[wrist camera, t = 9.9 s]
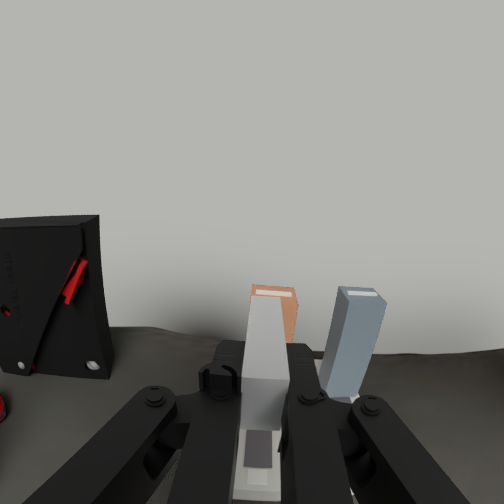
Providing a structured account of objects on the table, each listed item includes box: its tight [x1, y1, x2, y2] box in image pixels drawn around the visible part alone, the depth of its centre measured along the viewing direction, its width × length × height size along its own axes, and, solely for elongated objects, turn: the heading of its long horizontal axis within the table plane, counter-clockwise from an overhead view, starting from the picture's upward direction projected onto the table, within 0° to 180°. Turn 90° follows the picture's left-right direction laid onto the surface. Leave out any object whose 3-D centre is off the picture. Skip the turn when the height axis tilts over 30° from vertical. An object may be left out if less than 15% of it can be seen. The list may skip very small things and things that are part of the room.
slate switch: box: [318, 286, 387, 398], centre depth 27 cm, size 4×4×12 cm
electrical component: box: [0, 215, 114, 379], centre depth 26 cm, size 18×10×20 cm, turn 108°
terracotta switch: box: [249, 285, 298, 343], centre depth 26 cm, size 4×4×12 cm
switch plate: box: [233, 359, 359, 501], centre depth 25 cm, size 20×14×3 cm
